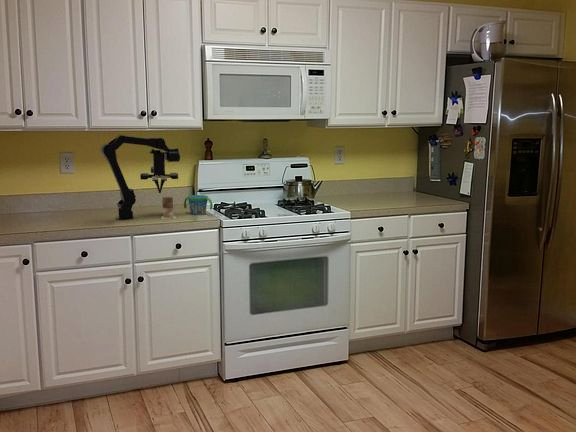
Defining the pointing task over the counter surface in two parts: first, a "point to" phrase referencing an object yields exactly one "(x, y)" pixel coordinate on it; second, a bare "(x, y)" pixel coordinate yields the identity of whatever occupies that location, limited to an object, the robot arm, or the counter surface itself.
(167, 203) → the walnut block
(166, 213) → the birch block
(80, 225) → the counter surface
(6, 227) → the counter surface
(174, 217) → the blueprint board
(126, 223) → the counter surface
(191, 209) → the snack cup
